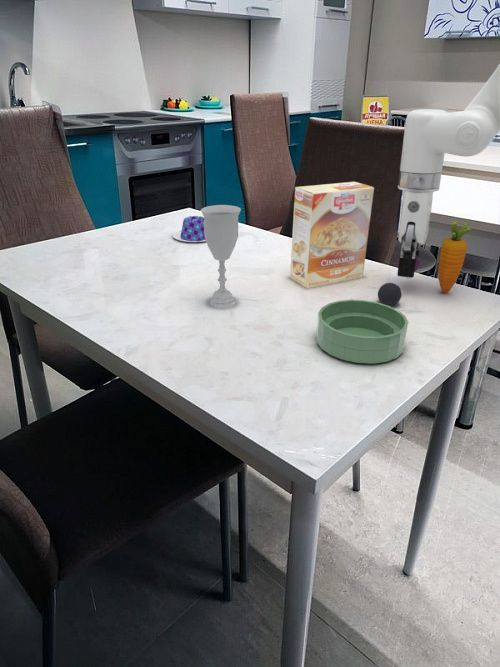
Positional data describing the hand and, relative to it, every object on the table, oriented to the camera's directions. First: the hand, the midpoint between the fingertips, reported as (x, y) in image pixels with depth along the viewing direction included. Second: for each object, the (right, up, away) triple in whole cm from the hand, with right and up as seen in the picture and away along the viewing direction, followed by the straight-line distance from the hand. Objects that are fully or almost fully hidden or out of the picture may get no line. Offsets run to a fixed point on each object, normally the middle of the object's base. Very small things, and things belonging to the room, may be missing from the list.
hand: (407, 271), depth 103 cm
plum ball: (0, 0, 0) cm, 0 cm away
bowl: (-14, -15, -21) cm, 29 cm away
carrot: (+7, -5, -1) cm, 9 cm away
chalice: (-38, -7, -6) cm, 39 cm away
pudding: (-47, +13, +31) cm, 58 cm away
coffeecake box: (-16, -1, +6) cm, 17 cm away
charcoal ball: (-6, -7, -6) cm, 11 cm away
